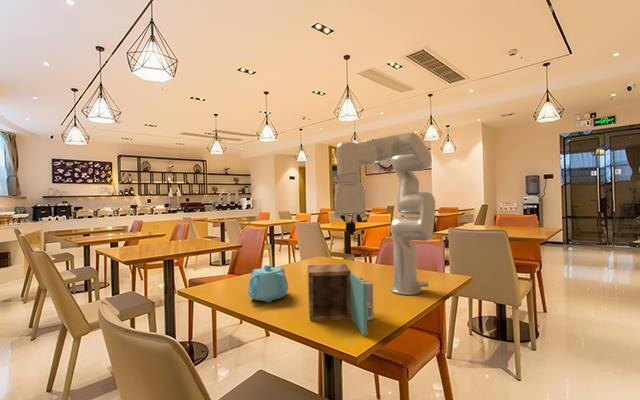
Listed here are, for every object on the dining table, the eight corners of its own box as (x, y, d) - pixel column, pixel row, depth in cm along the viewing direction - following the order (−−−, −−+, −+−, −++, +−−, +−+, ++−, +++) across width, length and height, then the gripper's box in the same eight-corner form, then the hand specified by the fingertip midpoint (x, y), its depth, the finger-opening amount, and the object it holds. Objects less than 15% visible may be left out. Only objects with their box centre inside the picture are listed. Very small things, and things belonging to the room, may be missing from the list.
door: (350, 318, 109) (350, 273, 109) (357, 318, 109) (356, 273, 109) (363, 335, 95) (362, 284, 95) (371, 334, 96) (370, 283, 96)
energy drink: (356, 315, 113) (355, 280, 113) (371, 314, 113) (370, 280, 113) (359, 321, 107) (358, 285, 107) (375, 320, 108) (374, 284, 108)
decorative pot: (251, 293, 142) (250, 261, 142) (288, 291, 143) (288, 260, 143) (245, 305, 126) (244, 270, 126) (287, 303, 127) (286, 268, 127)
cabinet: (346, 307, 122) (345, 264, 122) (351, 318, 110) (350, 271, 110) (308, 308, 121) (307, 265, 121) (309, 320, 109) (308, 272, 109)
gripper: (327, 180, 106) (330, 237, 106) (373, 178, 107) (375, 234, 107) (325, 181, 113) (327, 234, 114) (368, 179, 114) (369, 232, 115)
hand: (350, 234), depth 111 cm, fingers closed
